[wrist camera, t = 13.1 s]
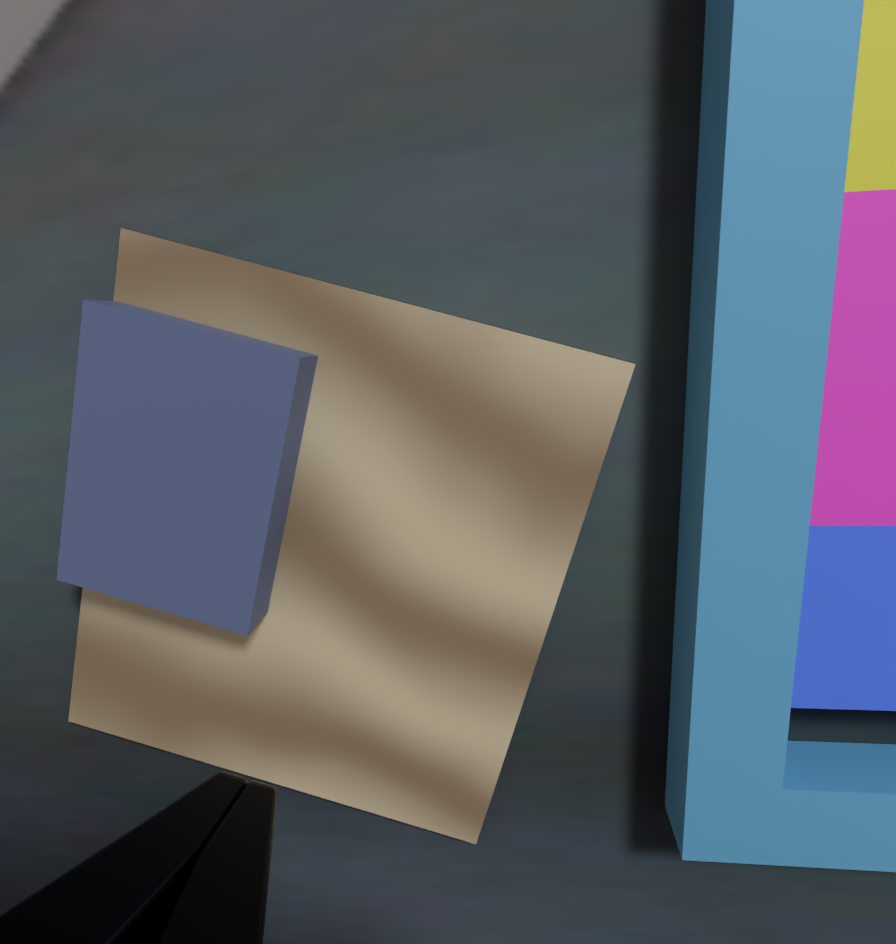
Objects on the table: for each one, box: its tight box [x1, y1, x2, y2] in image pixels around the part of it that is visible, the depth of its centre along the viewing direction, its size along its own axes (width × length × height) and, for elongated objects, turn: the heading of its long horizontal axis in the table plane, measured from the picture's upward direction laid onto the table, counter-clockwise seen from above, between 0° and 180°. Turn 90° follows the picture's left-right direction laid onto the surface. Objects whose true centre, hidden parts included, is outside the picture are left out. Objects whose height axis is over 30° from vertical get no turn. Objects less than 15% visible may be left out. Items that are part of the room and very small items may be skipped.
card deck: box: [57, 299, 318, 636], centre depth 19 cm, size 9×2×6 cm
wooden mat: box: [68, 228, 635, 844], centre depth 20 cm, size 18×16×1 cm
